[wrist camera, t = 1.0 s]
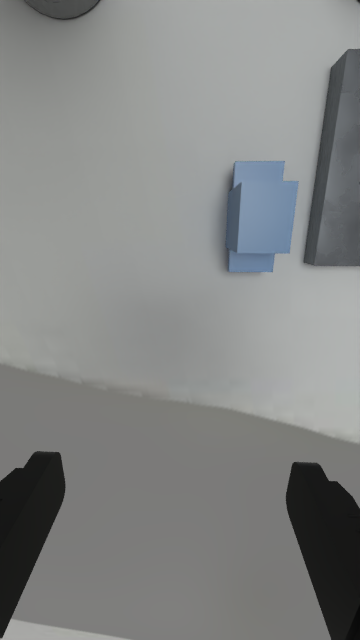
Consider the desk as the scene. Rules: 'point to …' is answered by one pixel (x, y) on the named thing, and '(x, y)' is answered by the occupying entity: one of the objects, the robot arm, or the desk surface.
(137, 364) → the desk surface
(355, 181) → the plate
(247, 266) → the block
